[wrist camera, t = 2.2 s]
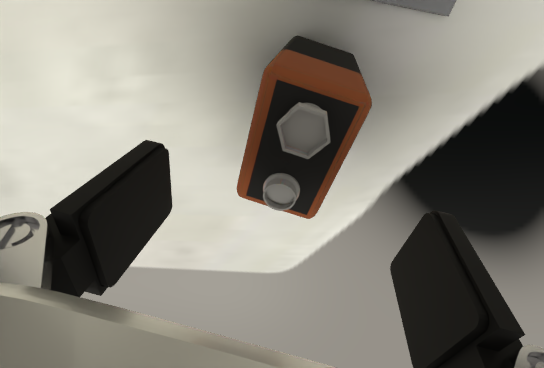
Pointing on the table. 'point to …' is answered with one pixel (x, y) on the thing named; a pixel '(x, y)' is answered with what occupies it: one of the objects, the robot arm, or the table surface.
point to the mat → (424, 5)
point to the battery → (302, 126)
